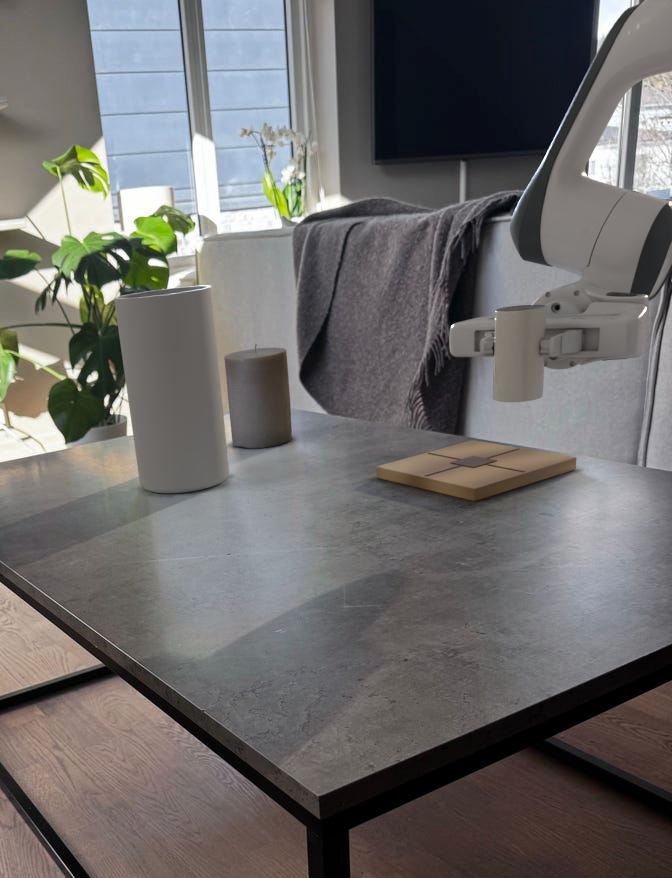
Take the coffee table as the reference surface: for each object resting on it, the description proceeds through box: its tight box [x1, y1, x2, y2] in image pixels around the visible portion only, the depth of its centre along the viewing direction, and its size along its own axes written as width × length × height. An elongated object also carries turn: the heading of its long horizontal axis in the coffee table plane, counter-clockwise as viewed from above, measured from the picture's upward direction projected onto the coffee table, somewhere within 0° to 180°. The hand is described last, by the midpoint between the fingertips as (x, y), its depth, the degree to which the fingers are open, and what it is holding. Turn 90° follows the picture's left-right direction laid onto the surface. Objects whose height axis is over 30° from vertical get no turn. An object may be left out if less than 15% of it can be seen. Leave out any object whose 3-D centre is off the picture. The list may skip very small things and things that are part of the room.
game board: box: [375, 439, 577, 502], centre depth 115 cm, size 17×17×2 cm
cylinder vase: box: [113, 285, 230, 494], centre depth 122 cm, size 12×12×25 cm
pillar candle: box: [223, 343, 293, 449], centre depth 142 cm, size 10×10×15 cm
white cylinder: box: [492, 304, 547, 403], centre depth 95 cm, size 5×5×9 cm
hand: (516, 347), depth 94 cm, fingers closed on white cylinder, 5 cm apart
